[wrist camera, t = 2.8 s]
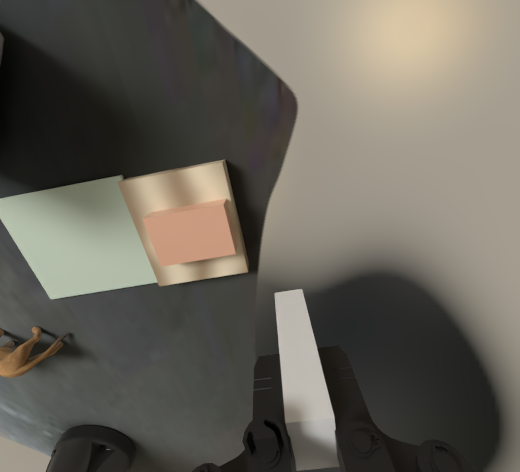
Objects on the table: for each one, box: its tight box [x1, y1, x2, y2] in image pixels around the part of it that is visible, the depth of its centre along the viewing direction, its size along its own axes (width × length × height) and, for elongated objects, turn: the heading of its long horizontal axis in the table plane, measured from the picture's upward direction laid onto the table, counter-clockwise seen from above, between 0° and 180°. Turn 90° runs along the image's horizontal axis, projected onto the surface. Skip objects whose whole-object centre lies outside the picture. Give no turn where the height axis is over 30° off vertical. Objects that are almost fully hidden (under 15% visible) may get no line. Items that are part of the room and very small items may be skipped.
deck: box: [117, 160, 249, 286], centre depth 32 cm, size 12×14×2 cm
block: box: [143, 199, 238, 267], centre depth 29 cm, size 9×6×2 cm, turn 100°
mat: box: [0, 175, 158, 299], centre depth 33 cm, size 17×15×1 cm
